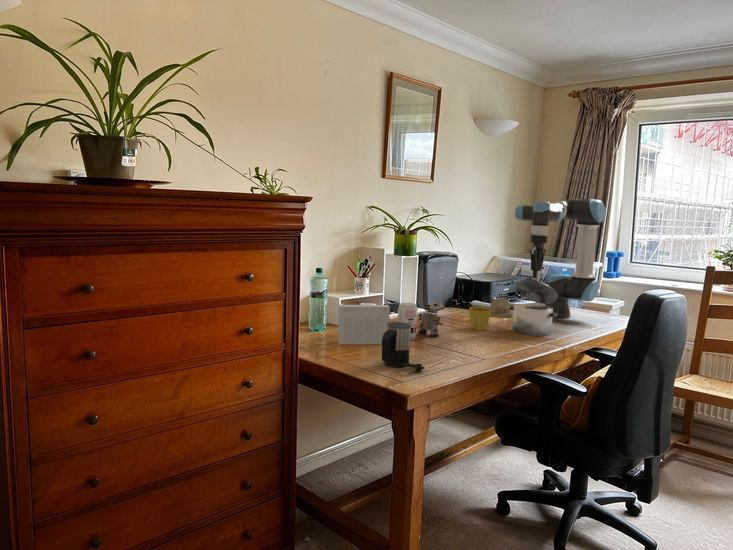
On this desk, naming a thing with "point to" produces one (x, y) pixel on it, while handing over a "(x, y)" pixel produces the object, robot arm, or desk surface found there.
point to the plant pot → (479, 317)
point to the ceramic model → (501, 308)
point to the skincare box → (362, 323)
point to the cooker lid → (537, 291)
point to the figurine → (431, 319)
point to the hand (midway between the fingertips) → (535, 284)
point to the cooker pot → (532, 319)
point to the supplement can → (408, 316)
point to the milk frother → (397, 346)
